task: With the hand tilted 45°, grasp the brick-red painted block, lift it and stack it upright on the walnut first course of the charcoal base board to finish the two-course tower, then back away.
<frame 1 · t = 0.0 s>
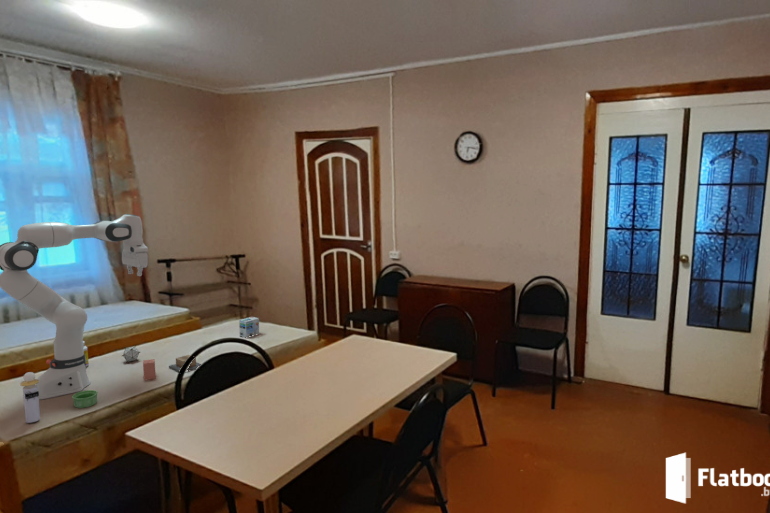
hand: (135, 274, 236), 48 cm above the table, tool pointing down, fingers open, 8 cm apart
supplement bottle: (81, 367, 242), on the table
perfume bottle: (33, 422, 184), on the table
tower base: (186, 367, 243), on the table
red block: (149, 377, 230), on the table
light bulb box: (249, 335, 299), on the table
game die: (131, 361, 251), on the table
ramekin: (85, 404, 200), on the table
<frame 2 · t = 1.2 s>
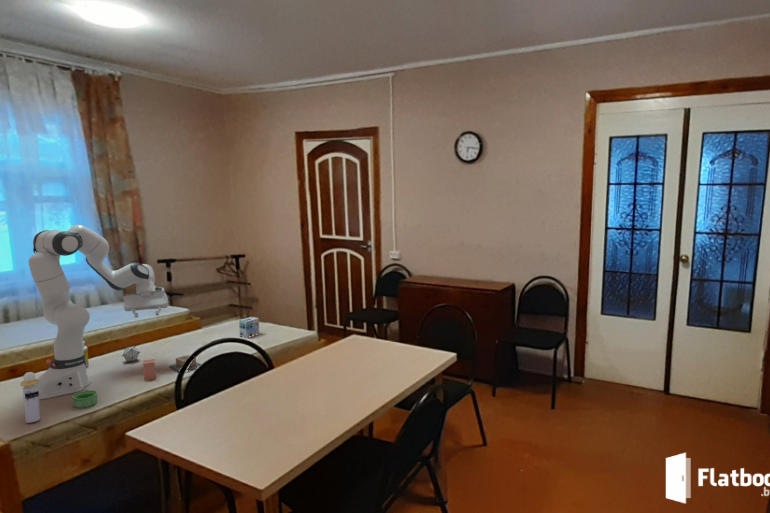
hand: (146, 315, 237), 27 cm above the table, tool tilted 45°, fingers open, 8 cm apart
nothing on the table moved.
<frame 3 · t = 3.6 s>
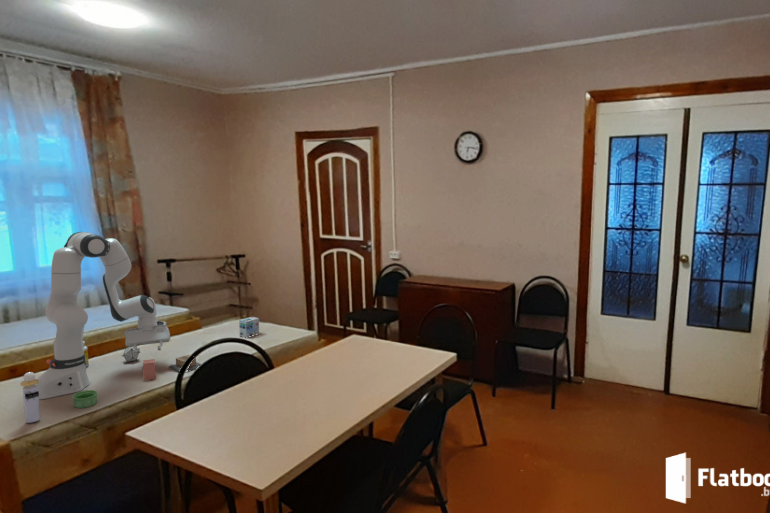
hand: (148, 351, 235), 11 cm above the table, tool tilted 45°, fingers open, 8 cm apart
nothing on the table moved.
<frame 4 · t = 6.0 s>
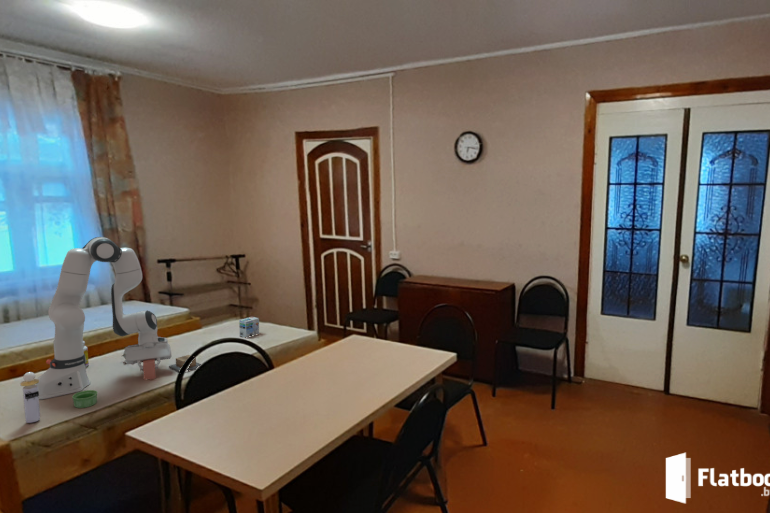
hand: (149, 368, 229), 4 cm above the table, tool tilted 45°, fingers closed on red block, 5 cm apart
red block: (149, 377, 230), on the table, touching gripper
everything else where it was.
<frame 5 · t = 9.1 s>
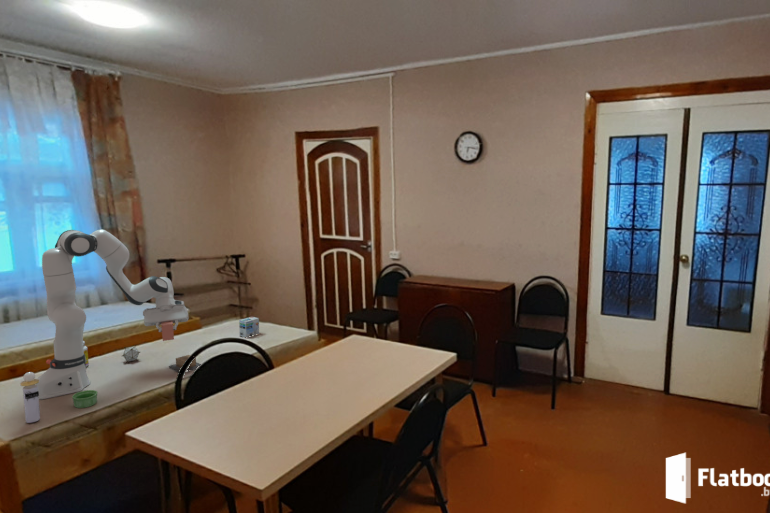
hand: (167, 330, 234), 21 cm above the table, tool tilted 45°, fingers closed on red block, 5 cm apart
red block: (168, 338, 235), point 17 cm above the table, touching gripper
everything else where it was.
when the fingers open (11 cm above the table, at t = 12.4 s): red block drops 1 cm, resting on tower base.
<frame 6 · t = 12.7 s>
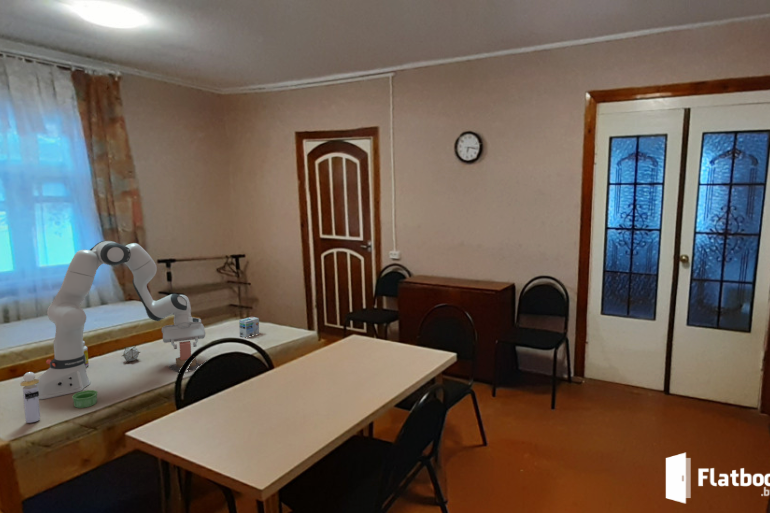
hand: (185, 347, 241), 11 cm above the table, tool tilted 45°, fingers open, 8 cm apart
red block: (185, 358, 243), point 5 cm above the table, touching tower base
everything else where it was.
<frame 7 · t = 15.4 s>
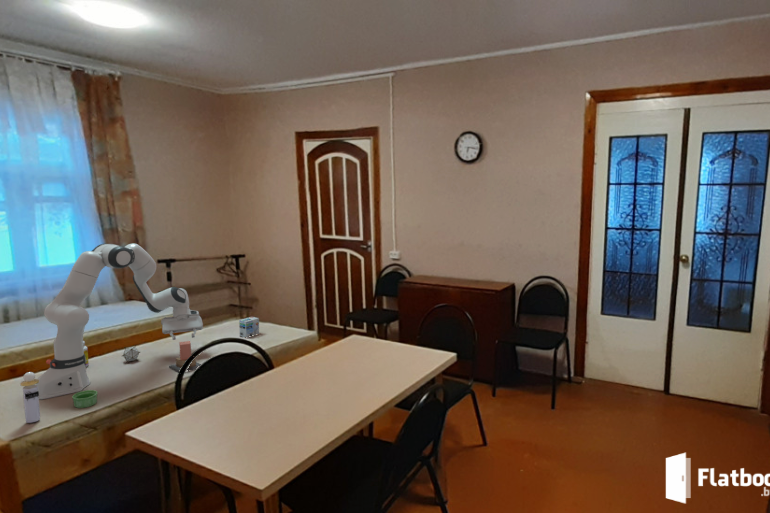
hand: (183, 338, 253), 12 cm above the table, tool tilted 45°, fingers open, 8 cm apart
nothing on the table moved.
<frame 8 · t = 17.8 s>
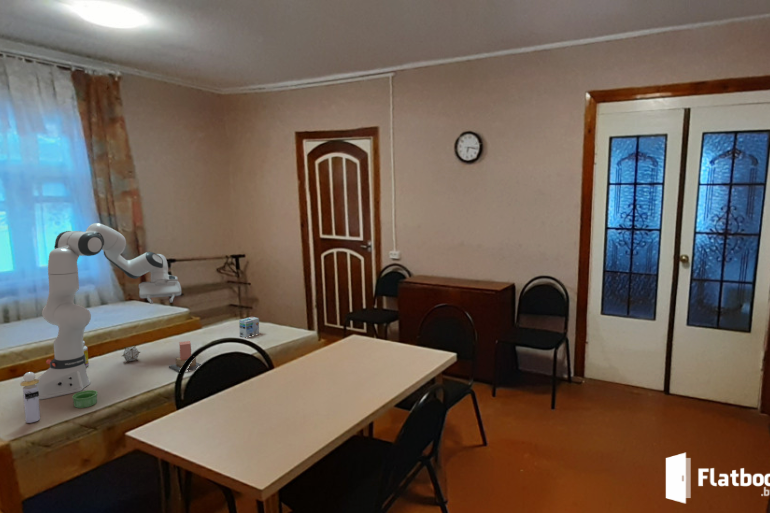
hand: (161, 302, 249), 31 cm above the table, tool tilted 45°, fingers open, 8 cm apart
nothing on the table moved.
at the end: red block 0.1 cm off-centre on the tower base, point 5.0 cm above the tower base's base; red block tilted 0°; the gripper is holding nothing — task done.
